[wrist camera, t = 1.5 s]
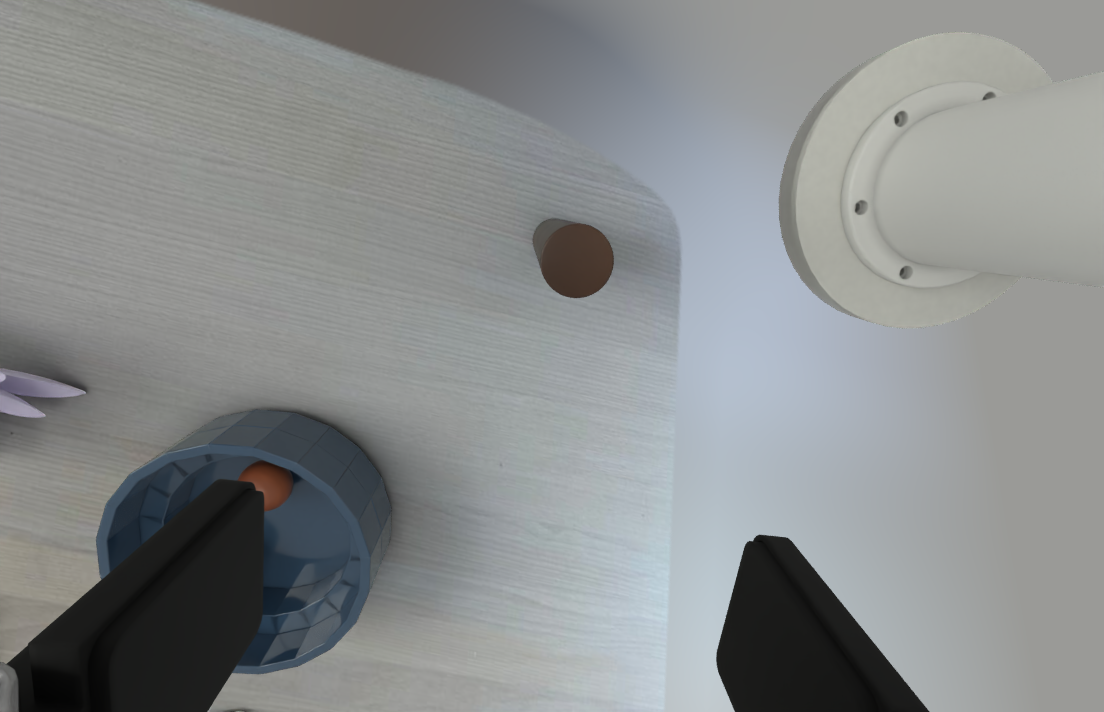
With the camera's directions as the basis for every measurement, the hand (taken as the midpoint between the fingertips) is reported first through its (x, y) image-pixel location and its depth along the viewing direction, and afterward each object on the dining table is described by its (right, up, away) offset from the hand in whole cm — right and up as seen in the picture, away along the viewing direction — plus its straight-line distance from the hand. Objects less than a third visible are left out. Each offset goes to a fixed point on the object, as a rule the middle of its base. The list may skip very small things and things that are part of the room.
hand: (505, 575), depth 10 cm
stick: (+1, +11, +23) cm, 26 cm away
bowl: (-18, -6, +27) cm, 33 cm away
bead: (-17, -4, +24) cm, 30 cm away
